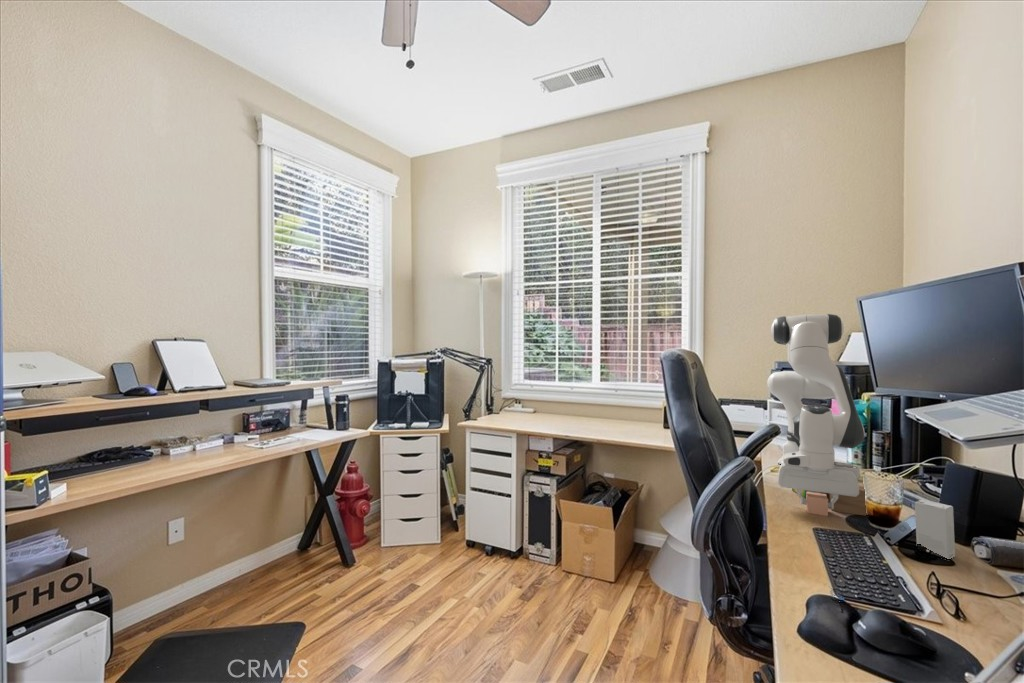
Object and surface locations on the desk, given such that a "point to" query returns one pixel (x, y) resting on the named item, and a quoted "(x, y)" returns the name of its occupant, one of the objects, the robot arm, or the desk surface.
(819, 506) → the cube
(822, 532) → the desk surface
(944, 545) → the skincare box
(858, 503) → the block
